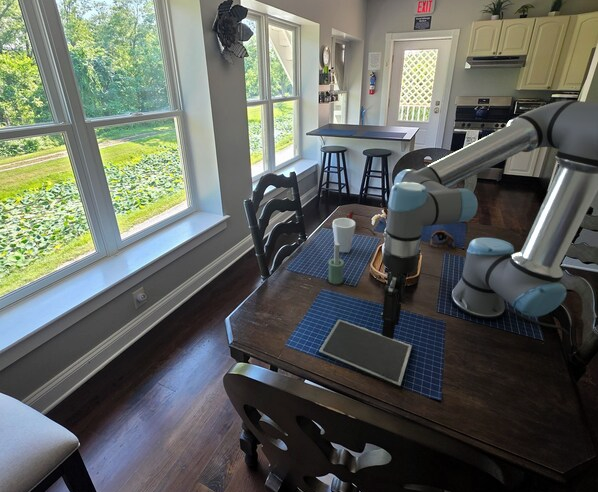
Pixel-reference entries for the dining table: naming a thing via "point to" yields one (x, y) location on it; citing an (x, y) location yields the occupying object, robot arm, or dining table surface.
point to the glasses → (360, 215)
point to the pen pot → (336, 272)
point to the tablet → (367, 352)
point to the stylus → (336, 254)
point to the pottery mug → (441, 237)
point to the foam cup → (343, 233)
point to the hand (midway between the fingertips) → (390, 329)
